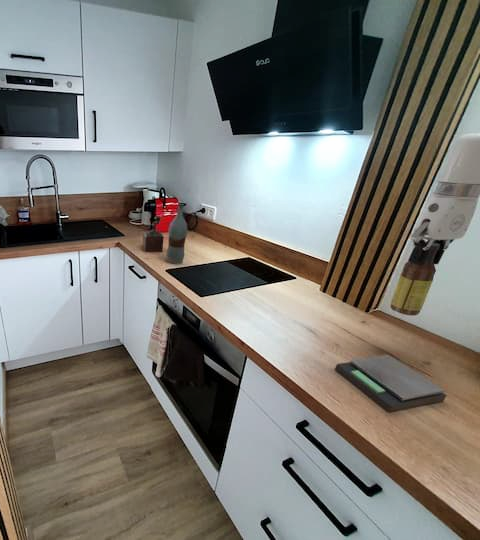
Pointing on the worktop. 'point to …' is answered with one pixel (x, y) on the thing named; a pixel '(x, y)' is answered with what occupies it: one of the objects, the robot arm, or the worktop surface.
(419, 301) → the sauce bottle
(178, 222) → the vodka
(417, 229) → the robot arm
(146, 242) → the pepper mill
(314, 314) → the worktop surface
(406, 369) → the scale pan
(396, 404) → the scale
